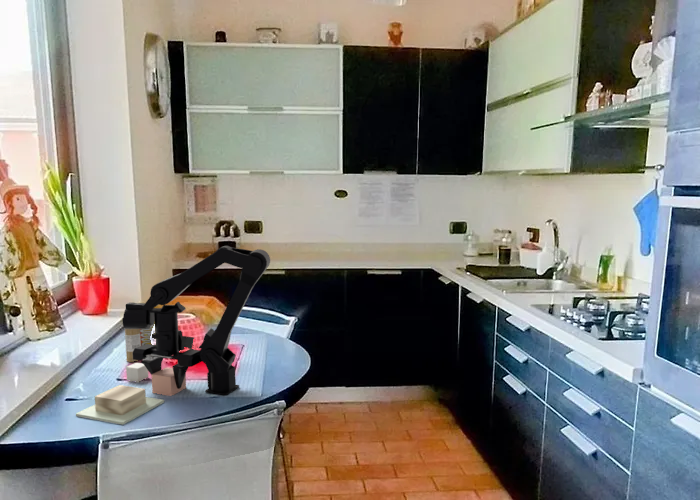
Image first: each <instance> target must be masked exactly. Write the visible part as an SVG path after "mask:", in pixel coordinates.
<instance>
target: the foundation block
mask: <svg viewBox="0 0 700 500" xmlns="http://www.w3.org/2000/svg"><path fill="white" fill-rule="evenodd" d="M146 397H147V395H146V388H141V387H135V386H127V385H122V384H119V385H117V386H114V387H112V388H110V389H107V390H105V391H104V392H101V393H99V394H97V395H95V396H94V405H95V410H96V411H101V412H106V413H112V414H118V415H124V414H126V413H127V412H129V411H131V410H133V409H135V408H137V407H139V406H141V405H143V404H145V403H146Z"/></svg>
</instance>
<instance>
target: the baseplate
mask: <svg viewBox="0 0 700 500" xmlns="http://www.w3.org/2000/svg"><path fill="white" fill-rule="evenodd" d="M164 403H165V399H160V398H155V397H150V396H149V397H148V396H146V403H145V404H143V405H141V406H139V407H137V408H135V409H133V410H131V411H129V412H127V413H126V414H124V415H118V414H112V413H106V412H101V411H96V410H95V404H93V405H90V406H88V407H87V408H84V409H82V410H80V411H79V412H76V413H75V417H79V418H85V419H88V420H89V419H90V420H94V421H100V422H105V423H112V424H115V425H116V424H117V425H121V426H122V425H123V426H124V425H125V424H127V423H129V422H131V421H133V420H134V419H136V418H138V417H140V416H142V415H144V414H145V413H147V412H149V411H151V410H152V409H154V408H157V407H158V406H160V405H162V404H164Z"/></svg>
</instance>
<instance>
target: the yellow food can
mask: <svg viewBox="0 0 700 500" xmlns="http://www.w3.org/2000/svg"><path fill="white" fill-rule="evenodd" d="M154 324H155V321H154ZM154 324H153V325H151V326H150V328H149V329H140V339H141V346H142V345H145V344H151V340H150V336H151V331H152V328H153V326H154Z"/></svg>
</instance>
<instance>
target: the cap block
mask: <svg viewBox="0 0 700 500" xmlns="http://www.w3.org/2000/svg"><path fill="white" fill-rule="evenodd" d="M125 369H126V371H125V372H126V381H127V380H130V381H129V382H132V381H136V382H135V383H140V382H139V381H141V380H143V379H145V378H147V377H149V371H148V370H147V368H146V367H145V365H144V364H142V363H141V362H133V363H132V364H129V365H128V366H126V367H125ZM147 379H148V378H147ZM145 380H146V379H145ZM143 381H144V380H143ZM141 382H142V381H141Z"/></svg>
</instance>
